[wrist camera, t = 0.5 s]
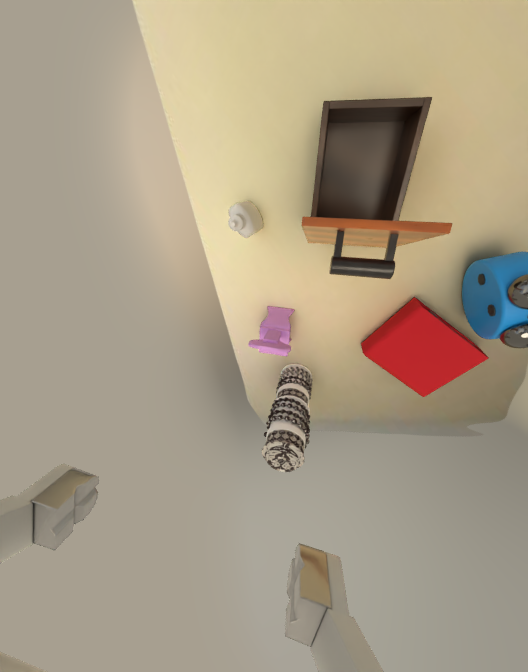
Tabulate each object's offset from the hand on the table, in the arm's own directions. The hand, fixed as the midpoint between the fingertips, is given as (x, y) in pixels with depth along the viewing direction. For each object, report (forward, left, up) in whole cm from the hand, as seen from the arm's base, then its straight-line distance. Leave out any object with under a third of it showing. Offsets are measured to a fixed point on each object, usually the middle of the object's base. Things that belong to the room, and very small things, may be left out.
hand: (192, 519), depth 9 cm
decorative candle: (+32, -7, -48) cm, 58 cm away
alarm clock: (+13, +31, -48) cm, 58 cm away
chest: (-9, +11, -48) cm, 50 cm away
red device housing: (+25, +21, -48) cm, 58 cm away
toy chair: (+16, -8, -48) cm, 51 cm away
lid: (-4, +9, -30) cm, 32 cm away
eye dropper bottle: (-8, -8, -48) cm, 49 cm away
